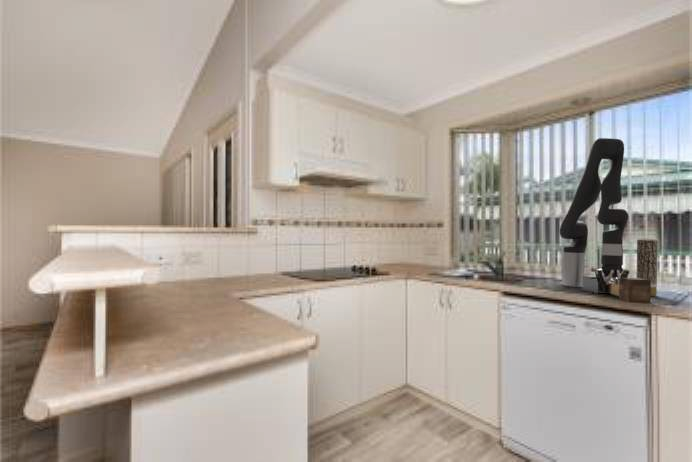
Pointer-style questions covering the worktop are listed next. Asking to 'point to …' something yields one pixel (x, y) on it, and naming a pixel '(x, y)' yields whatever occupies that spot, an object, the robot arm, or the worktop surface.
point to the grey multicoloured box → (591, 284)
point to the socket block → (634, 289)
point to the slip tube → (612, 288)
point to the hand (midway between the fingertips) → (611, 292)
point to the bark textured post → (647, 262)
